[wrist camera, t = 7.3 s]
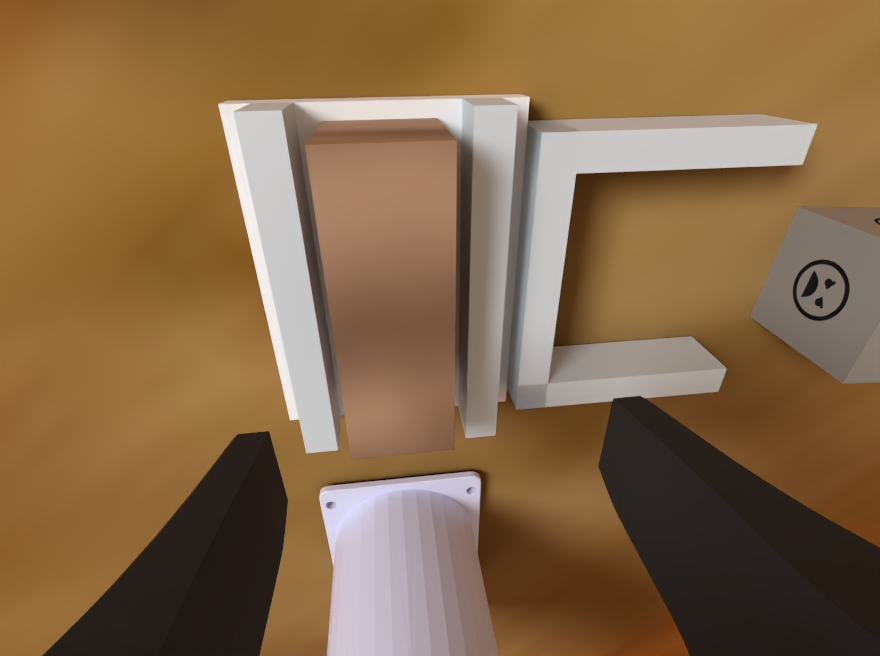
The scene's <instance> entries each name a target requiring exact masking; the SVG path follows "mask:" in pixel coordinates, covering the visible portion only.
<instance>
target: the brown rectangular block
mask: <svg viewBox="0 0 880 656" xmlns="http://www.w3.org/2000/svg"><path fill="white" fill-rule="evenodd" d="M305 150H306V157H307V164H308V171H309V177H310V184H311V191H312V198H313V204H314V211H315V218H316V225H317V231H318V238H319V245H320V252H321V258H322V265H323V272H324V279H325V285H326V292H327V299H328V306H329V313H330V319H331V326H332V333H333V340H334V346H335V353H336V360H337V367H338V373H339V380H340V387H341V394H342V400H343V407H344V414H345V421H346V427H347V434H348V441H349V448H350V454H351V460H352V459H363V458H373V457H383V456H394V455H404V454H414V453H425V452H435V451H445V450H454V438H455V320H456V202H457V140H456V139H455V137H454V136H453V135H452V134H451V133H450V132H449V131H448V129H447V128H446V127H445V126H444V125H443V124H442V123H441V122H440V120H439V119H438V118H415V119H378V120H340V121H321V122H320V123H319V125H318V126H317V128H316V129H315V131H314V132H313V134H312V135H311V137H310V138H309V139H308V141H307V142H306V144H305Z"/></svg>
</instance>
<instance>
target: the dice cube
mask: <svg viewBox="0 0 880 656" xmlns="http://www.w3.org/2000/svg"><path fill="white" fill-rule="evenodd" d="M750 317H751V318H752V319H754V320H755V321H756V322H758V323H759V324H761V325H762V326H763V327H765V328H766V329H767V330H769V331H770V332H772V333H773V334H774V335H776V336H777V337H779V338H780V339H781V340H783V341H784V342H785V343H787V344H788V345H790V346H791V347H792V348H794V349H795V350H797V351H798V352H799V353H801V354H802V355H803V356H805V357H806V358H808V359H809V360H810V361H812V362H813V363H814V364H816V365H817V366H819V367H820V368H821V369H823V370H824V371H826V372H827V373H828V374H830V375H831V376H832V377H834V378H835V379H837V380H838V381H839V382H841V383H842V384H847V383H873V382H880V208H861V207H807V206H798V208H797V210H796V212H795V214H794V217H793V219H792V221H791V224H790V226H789V228H788V230H787V233H786V235H785V237H784V239H783V242H782V244H781V246H780V249H779V251H778V253H777V255H776V258H775V260H774V262H773V265H772V267H771V269H770V271H769V274H768V276H767V278H766V280H765V283H764V285H763V287H762V290H761V292H760V294H759V296H758V299H757V301H756V303H755V305H754V308H753V310H752V312H751V315H750Z"/></svg>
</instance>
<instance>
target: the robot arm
mask: <svg viewBox="0 0 880 656" xmlns="http://www.w3.org/2000/svg"><path fill="white" fill-rule="evenodd" d="M599 469H600V471H601V474H602V477H603V480H604V482H605V485H606V488H607V490H608V493H609V495H610V498H611V500H612V503H613V505H614V508H615V510H616V512H617V514H618V516H619V518H620V520H621V522H622V524H623V526H624V528H625V530H626V531H627V533H628V535H629V537H630V539H631V541H632V543H633V545H634V547H635V548H636V550H637V552H638V554H639V556H640V558H641V560H642V561H643V563H644V565H645V567H646V569H647V571H648V573H649V574H650V576H651V578H652V580H653V582H654V584H655V586H656V587H657V589H658V591H659V593H660V595H661V597H662V599H663V600H664V602H665V604H666V606H667V608H668V610H669V612H670V613H671V616H672V618H673V620H674V622H675V624H676V626H677V628H678V630H679V632H680V634H681V636H682V638H683V640H684V642H685V645H686V647H687V649H688V652H689V654H690V656H880V548H879V547H878V546H876V545H874V544H872V543H870V542H868V541H866V540H865V539H863V538H861V537H859V536H857V535H856V534H854V533H852V532H850V531H848V530H847V529H845V528H843V527H841V526H839V525H838V524H836V523H834V522H832V521H830V520H828V519H827V518H825V517H823V516H821V515H820V514H818V513H816V512H815V511H813V510H811V509H810V508H808V507H806V506H804V505H803V504H801V503H799V502H798V501H796V500H795V499H793V498H791V497H790V496H788V495H787V494H785V493H783V492H782V491H780V490H779V489H777V488H775V487H774V486H772V485H771V484H769V483H767V482H766V481H764V480H763V479H761V478H760V477H758V476H757V475H755V474H754V473H752V472H751V471H749V470H747V469H746V468H744V467H743V466H741V465H740V464H738V463H737V462H735V461H734V460H733V459H731V458H730V457H728V456H727V455H725V454H724V453H722V452H721V451H719V450H718V449H716V448H715V447H714V446H712V445H711V444H709V443H708V442H706V441H705V440H704V439H702V438H701V437H699V436H698V435H696V434H695V433H694V432H692V431H691V430H689V429H688V428H687V427H685V426H684V425H682V424H681V423H680V422H678V421H677V420H675V419H674V418H672V417H671V416H670V415H668V414H667V413H665V412H664V411H662V410H661V409H660V408H658V407H657V406H655V405H654V404H652V403H651V402H649V401H648V400H646V399H645V398H643V397H642V396H633V397H622V398H613V402H612V407H611V411H610V416H609V420H608V425H607V430H606V434H605V439H604V443H603V448H602V452H601V457H600V462H599ZM469 487H471V488H469ZM480 495H481V479H480V475H479V474H478V473H477V472H473V471H469V472H459V473H449V474H440V475H430V476H420V477H410V478H400V479H390V480H380V481H370V482H361V483H351V484H341V485H331V486H326V487H324V488H322V489H321V491H320V497H319V499H320V504H321V509H322V514H323V519H324V523H325V528H326V533H327V538H328V542H329V547H330V552H331V557H332V562H333V566H334V571H333V584H332V597H331V611H330V624H329V637H328V651H327V656H499V655H498V650H497V645H496V640H495V635H494V631H493V626H492V621H491V616H490V611H489V606H488V601H487V597H486V592H485V587H484V582H483V577H482V572H481V567H480V563H479V558H478V534H479V515H480ZM287 503H288V499H287V495H286V492H285V488H284V485H283V481H282V477H281V474H280V470H279V466H278V463H277V459H276V455H275V452H274V448H273V445H272V441H271V437H270V434H269V431H267V432H257V433H247V434H238V435H237V436H236V437H235V438H234V439H233V440H232V441H231V443H230V444H229V445H228V446H227V448H226V449H225V450H224V452H223V453H222V454H221V455H220V457H219V458H218V459H217V461H216V462H215V463H214V465H213V466H212V467H211V468H210V470H209V471H208V472H207V474H206V475H205V476H204V478H203V479H202V480H201V481H200V483H199V484H198V485H197V486H196V488H195V489H194V490H193V492H192V493H191V494H190V495H189V497H188V498H187V499H186V500H185V501H184V503H183V504H182V505H181V506H180V508H179V509H178V510H177V511H176V512H175V514H174V515H173V516H172V517H171V518H170V520H169V521H168V522H167V523H166V525H165V526H164V527H163V528H162V529H161V531H160V532H159V533H158V534H157V535H156V537H155V538H154V539H153V540H152V541H151V542H150V543H149V544H148V546H147V547H146V548H145V549H144V550H143V551H142V552H141V553H140V555H139V556H138V557H137V558H136V559H135V560H134V561H133V562H132V564H131V565H130V566H129V567H128V568H127V569H126V570H125V571H124V573H123V574H122V575H121V576H120V577H119V578H118V579H117V580H116V581H115V583H114V584H113V585H112V586H111V587H110V588H109V589H108V590H107V591H106V592H105V593H104V594H103V595H102V596H101V597H100V599H99V600H98V601H97V602H96V603H95V604H94V605H93V606H92V607H91V608H90V609H89V610H88V611H87V612H86V613H85V614H84V615H83V616H82V617H81V618H80V619H79V620H78V621H77V622H76V623H75V624H74V625H73V626H72V627H71V628H70V629H69V630H68V631H67V632H66V633H65V634H64V635H63V636H62V637H61V638H60V639H59V640H58V641H57V642H56V643H55V644H54V645H53V646H52V647H51V648H50V649H49V650H48V651H47V652H46V653H44V654H43V655H42V656H259V655H260V650H261V646H262V641H263V637H264V632H265V628H266V623H267V619H268V614H269V610H270V606H271V601H272V597H273V592H274V588H275V583H276V579H277V574H278V569H279V565H280V560H281V555H282V551H283V542H284V534H285V524H286V514H287Z"/></svg>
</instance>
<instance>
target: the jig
mask: <svg viewBox="0 0 880 656" xmlns="http://www.w3.org/2000/svg"><path fill="white" fill-rule="evenodd" d="M529 100H530V97H528V96H525V95H522V94H506V95H460V96H414V97H369V98H323V99H277V100H232V101H225V102H222V103H220V104H218V105H219V109H220V114H221V118H222V123H223V127H224V131H225V136H226V140H227V145H228V149H229V153H230V158H231V162H232V167H233V171H234V175H235V180H236V184H237V189H238V193H239V197H240V202H241V206H242V211H243V215H244V219H245V224H246V228H247V233H248V237H249V241H250V246H251V250H252V255H253V259H254V263H255V268H256V272H257V277H258V281H259V285H260V290H261V294H262V299H263V303H264V307H265V312H266V316H267V321H268V325H269V329H270V334H271V338H272V343H273V347H274V351H275V356H276V360H277V365H278V369H279V373H280V378H281V382H282V387H283V391H284V395H285V400H286V404H287V409H288V413H289V417H290V420H297V419H299V421H300V426H301V431H302V435H303V440H304V445H305V449H306V453H314V452H324V451H335V450H338V445H339V433H340V422H341V416H343V415H345V414H344V407H343V400H342V394H341V387H340V380H339V373H338V367H337V360H336V353H335V346H334V340H333V333H332V326H331V319H330V313H329V306H328V299H327V292H326V285H325V279H324V272H323V265H322V258H321V252H320V245H319V238H318V231H317V225H316V218H315V211H314V204H313V198H312V191H311V184H310V177H309V171H308V164H307V157H306V150H305V144H306V142H307V141H308V139H309V138H310V137H311V135H312V134H313V132H314V131H315V129H316V128H317V126H318V125H319V123H320V122H321V121H340V120H378V119H415V118H438V119H439V120H440V122H441V123H442V124H443V125H444V126H445V127H446V128H447V129H448V131H449V132H450V133H451V134H452V135H453V136H454V137H455V139H456V140H457V202H456V320H455V406H458V407H459V411H460V416H461V420H462V424H463V428H464V433H465V437H466V438H473V437H483V436H494V435H496V421H497V406H498V402H504V401H506V390H507V389H508V391H509V394H510V396H511V399H512V401H513V404H514V407H515V409H516V410H519V409H530V408H541V407H552V406H564V405H575V404H586V403H597V402H609V401H613V398H622V397H633V396H642V397H643V398H653V397H665V396H676V395H687V394H698V393H709V392H718V391H719V388H720V386H721V383H722V380H723V378H724V375H725V372H726V370H727V368H726V367H725V366H724V365H723V364H722V363H720V362H719V361H718V360H717V359H716V358H715V357H714V356H713V355H712V354H711V353H709V352H708V351H707V350H706V349H705V348H704V347H703V346H702V345H701V344H700V343H699V342H697V341H696V340H695V339H694V338H693V337H692V336H688V337H675V338H662V339H649V340H636V341H622V342H609V343H596V344H583V345H570V346H557V347H553V342H554V335H555V328H556V320H557V313H558V305H559V298H560V291H561V283H562V276H563V268H564V261H565V254H566V246H567V239H568V231H569V224H570V217H571V209H572V202H573V194H574V187H575V180H576V174H581V173H606V172H632V171H657V170H683V169H708V168H733V167H759V166H784V165H803V162H804V159H805V157H806V154H807V151H808V149H809V146H810V143H811V140H812V138H813V135H814V132H815V130H816V127H817V124H813V123H807V122H802V121H796V120H791V119H785V118H779V117H774V116H768V115H762V114H749V115H712V116H676V117H640V118H604V119H567V120H531V121H528V112H529Z"/></svg>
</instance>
